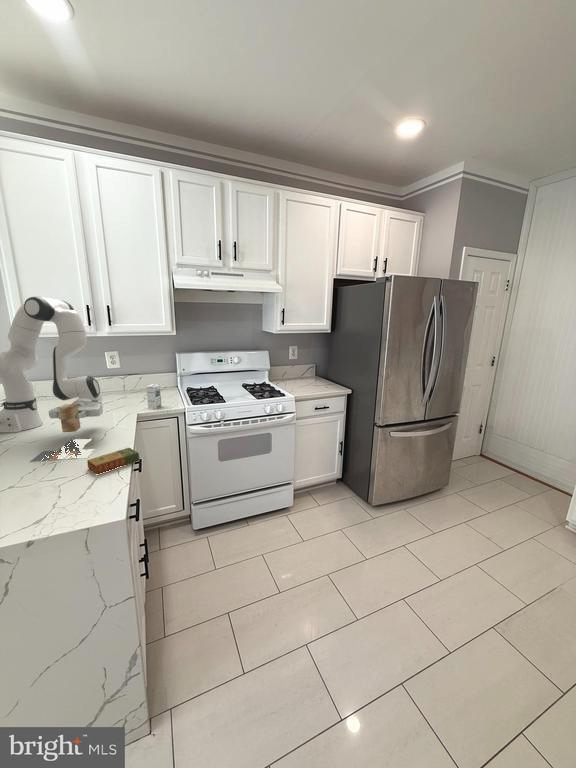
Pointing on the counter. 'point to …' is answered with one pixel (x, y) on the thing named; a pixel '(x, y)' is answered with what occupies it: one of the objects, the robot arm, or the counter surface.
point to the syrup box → (153, 396)
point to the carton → (113, 460)
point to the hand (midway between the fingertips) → (68, 417)
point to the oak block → (69, 418)
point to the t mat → (48, 453)
